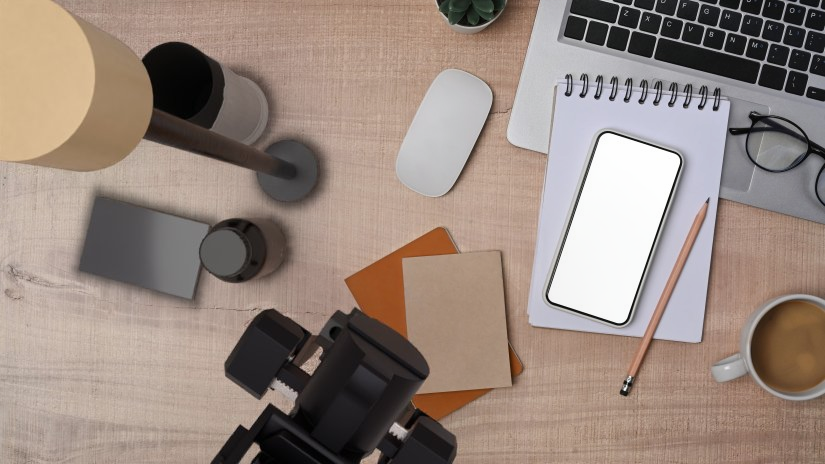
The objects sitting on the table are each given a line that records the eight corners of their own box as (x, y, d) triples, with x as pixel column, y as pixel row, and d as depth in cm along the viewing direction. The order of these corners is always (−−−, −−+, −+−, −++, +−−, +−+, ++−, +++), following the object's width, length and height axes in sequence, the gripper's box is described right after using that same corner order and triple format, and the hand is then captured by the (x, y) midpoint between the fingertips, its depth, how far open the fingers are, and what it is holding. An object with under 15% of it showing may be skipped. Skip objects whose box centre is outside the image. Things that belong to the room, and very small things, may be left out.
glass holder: (264, 153, 70) (216, 134, 55) (145, 141, 71) (66, 119, 56) (272, 78, 70) (225, 38, 55) (152, 67, 71) (75, 25, 56)
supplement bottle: (223, 268, 71) (179, 277, 59) (237, 211, 71) (195, 209, 59) (280, 282, 70) (247, 294, 59) (293, 225, 70) (263, 226, 58)
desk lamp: (293, 214, 70) (19, 196, 25) (248, 174, 71) (-104, 84, 25) (332, 169, 70) (129, 67, 25) (287, 129, 70) (4, -46, 25)
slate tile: (193, 299, 71) (191, 300, 70) (80, 270, 72) (77, 270, 71) (211, 224, 71) (209, 224, 70) (98, 196, 71) (95, 196, 71)
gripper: (499, 441, 39) (497, 359, 54) (261, 274, 39) (325, 240, 55) (403, 566, 41) (427, 453, 56) (177, 405, 41) (262, 337, 57)
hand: (362, 369), depth 56 cm, fingers open, 9 cm apart
